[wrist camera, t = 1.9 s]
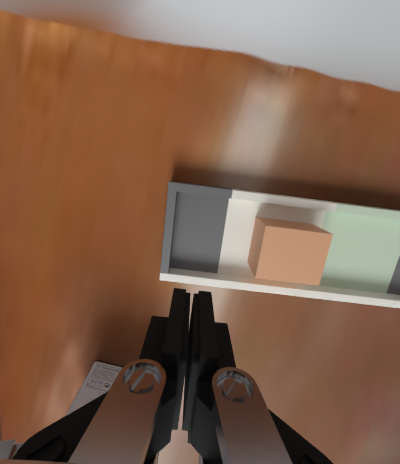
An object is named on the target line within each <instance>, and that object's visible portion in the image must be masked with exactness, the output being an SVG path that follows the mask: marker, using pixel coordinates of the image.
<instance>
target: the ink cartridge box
mask: <svg viewBox="0 0 400 464" xmlns="http://www.w3.org/2000/svg"><path fill="white" fill-rule="evenodd" d="M122 368H123V367H118V366H114V365H110V364H105V363H101V362H97V361H95V362H94V364H93V366H92V367H91V369H90V371H89V373H88V375H87V377H86V378H85V380H84V382H83V384H82V386H81V388H80V390H79V392H78V393H77V395H76V397H75V399H74V401H73V403H72V405H71V406H70V408H69V410H68V413H67V414H66V416H67V415H68V414H70V413H72V412H73V411H75V410H77V409H79V408H80V407H82V406H84V405H85V404H87V403H89V402H90V401H92V400H94V399H96V398H97V397H99V396H101V395H102V394H104V393H106V392H108V391H109V389H110V388H111V386H112V384H113V382H114V381H115V379H116V377H117V375H118V374H119V372H120V371H121V369H122ZM158 456H159V452H158V454H157V461H156V464H157V463H158Z"/></svg>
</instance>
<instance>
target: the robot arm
mask: <svg viewBox="0 0 400 464" xmlns="http://www.w3.org/2000/svg"><path fill="white" fill-rule="evenodd" d="M189 312H190V293H186V289H178V288H174V291H173V297H172V302H171V308H170V313H169V318H168V317H158V316H152V318H151V321H150V324H149V328H148V331H147V335H146V338H145V341H144V345H143V348H142V351H141V355H140V358H139V360H135V361H132V362H130V363H128V364H127V365H125V366H124V367H123V368H122V369H121V371H120V372H119V374H118V375H117V377H116V379H115V381H114V382H113V384H112V386H111V388H110V389H109V391H108V392H106V393H104V394H102V395H101V396H99V397H97V398H96V399H94V400H92V401H90V402H89V403H87V404H85V405H84V406H82V407H80V408H79V409H77V410H75V411H73V412H72V413H70V414H68V415H67V416H65V417H63V418H61V419H60V420H58V421H56V422H55V423H53V424H51V425H50V426H48V427H46V428H44V429H43V430H41V431H39V432H38V433H36V434H35V435H33V436H32V437H31V438H29V439H28V440H27V441H26V442H25V443H21V444H16V439H15V440H8V441H2V442H0V464H156V461H157V454H158V452H159V451H160V450H161V449H163V448H164V447H165V446H166V445H167V444H168V443H169V442H170V439H171V431H172V430H177V429H178V422H179V414H180V407H181V400H182V392H183V385H184V377H185V388H184V407H183V426H182V430H185V431H188V443H191V444H192V446H193V447H194V448H195V449H196V450H197V452H198V453H199V464H333V463H332V462H331V461H330V460H329V459H328V458H327V457H326V456H325V455H324V454H323V453H321V452H320V451H319V450H318V449H317V448H315V447H314V446H313V445H312V444H310V443H309V442H308V441H307V440H306V439H304V438H303V437H302V436H301V435H299V434H298V433H297V432H296V431H295V430H293V429H292V428H291V427H290V426H289V425H287V424H286V423H285V422H284V421H282V420H281V419H280V418H279V417H278V416H276V415H275V414H274V413H273V412H271V411H270V410H269V409H268V408H267V405H266V403H265V401H264V399H263V396H262V394H261V392H260V390H259V387H258V385H257V383H256V382H255V380H254V379H253V378H252V377H251V376H250V375H249V374H248V373H247V372H245V371H243V370H241V369H238V368H236V365H235V360H234V355H233V350H232V345H231V340H230V335H229V330H228V325H227V324H226V323H217V322H215V320H214V312H213V303H212V295H211V292H206V291H199V293H198V294H194V297H193V304H192V312H191V319H190V327H189ZM188 333H189V334H188Z"/></svg>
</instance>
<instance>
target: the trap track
mask: <svg viewBox="0 0 400 464" xmlns="http://www.w3.org/2000/svg"><path fill="white" fill-rule="evenodd" d="M256 217H261V218H268V219H276V220H284V221H292V222H300V223H308V224H314V225H316V226H318V227H320V228H322V229H324V230H326V231H328V232H330V233H332V234H333V236H332V240H331V244H330V247H329V251H328V255H327V258H326V262H325V266H324V269H323V273H322V277H321V280H320V284H319V286H316V285H308V284H299V283H291V282H282V281H274V280H265V279H257V278H255V277H254V275H253V273H252V271H251V269H250V267H249V265H248V263H247V261H248V255H249V250H250V245H251V239H252V234H253V229H254V223H255V218H256ZM160 280H163V281H171V282H180V283H188V284H197V285H205V286H214V287H223V288H231V289H240V290H248V291H257V292H265V293H274V294H283V295H291V296H300V297H308V298H317V299H325V300H334V301H343V302H351V303H360V304H368V305H377V306H385V307H394V308H400V210H394V209H386V208H378V207H371V206H363V205H355V204H347V203H340V202H332V201H324V200H316V199H309V198H301V197H293V196H285V195H278V194H270V193H262V192H254V191H247V190H239V189H231V188H223V187H215V186H208V185H200V184H192V183H184V182H177V181H170V182H169V184H168V195H167V206H166V216H165V227H164V238H163V249H162V260H161V270H160Z"/></svg>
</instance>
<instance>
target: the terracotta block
mask: <svg viewBox="0 0 400 464" xmlns="http://www.w3.org/2000/svg"><path fill="white" fill-rule="evenodd" d="M332 236H333V234H332V233H330V232H328V231H326V230H324V229H322V228H320V227H318V226H316V225H314V224H308V223H300V222H292V221H284V220H276V219H268V218H261V217H256V218H255V223H254V229H253V234H252V239H251V245H250V250H249V255H248V261H247V263H248V265H249V267H250V269H251V271H252V273H253V275H254V277H255V278H257V279H265V280H274V281H282V282H291V283H299V284H308V285H316V286H319V284H320V280H321V277H322V273H323V269H324V266H325V262H326V258H327V255H328V251H329V247H330V244H331V240H332Z"/></svg>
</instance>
